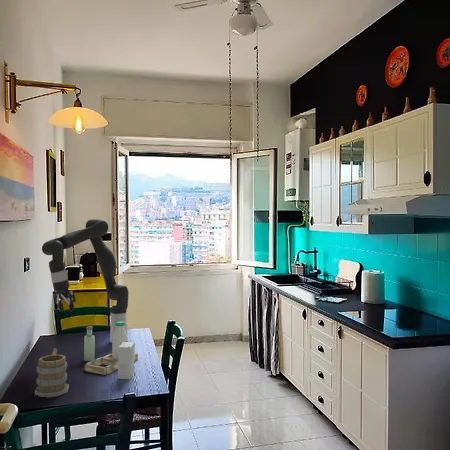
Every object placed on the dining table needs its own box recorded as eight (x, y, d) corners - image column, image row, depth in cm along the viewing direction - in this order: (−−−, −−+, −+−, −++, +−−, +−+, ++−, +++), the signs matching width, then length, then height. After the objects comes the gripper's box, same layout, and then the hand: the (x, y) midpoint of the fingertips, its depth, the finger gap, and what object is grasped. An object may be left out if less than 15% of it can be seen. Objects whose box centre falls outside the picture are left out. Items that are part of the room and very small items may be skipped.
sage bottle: (88, 357, 233) (89, 325, 233) (96, 358, 231) (96, 326, 231) (82, 360, 228) (82, 327, 228) (89, 361, 226) (90, 328, 226)
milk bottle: (114, 364, 222) (114, 324, 221) (110, 360, 229) (110, 321, 228) (129, 362, 225) (129, 322, 225) (125, 358, 232) (125, 319, 232)
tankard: (66, 396, 182) (66, 359, 182) (32, 398, 179) (32, 361, 179) (72, 379, 202) (72, 345, 201) (42, 381, 199) (42, 347, 199)
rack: (117, 356, 235) (117, 350, 235) (137, 359, 230) (137, 353, 230) (84, 371, 212) (84, 364, 212) (105, 374, 207) (105, 367, 207)
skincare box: (122, 373, 210) (122, 341, 210) (134, 373, 210) (135, 341, 210) (117, 379, 201) (117, 346, 201) (131, 379, 201) (131, 346, 201)
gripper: (75, 277, 223) (82, 308, 225) (57, 278, 231) (64, 308, 233) (62, 281, 217) (70, 313, 219) (44, 282, 225) (52, 313, 227)
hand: (67, 310), depth 226 cm, fingers open, 8 cm apart
